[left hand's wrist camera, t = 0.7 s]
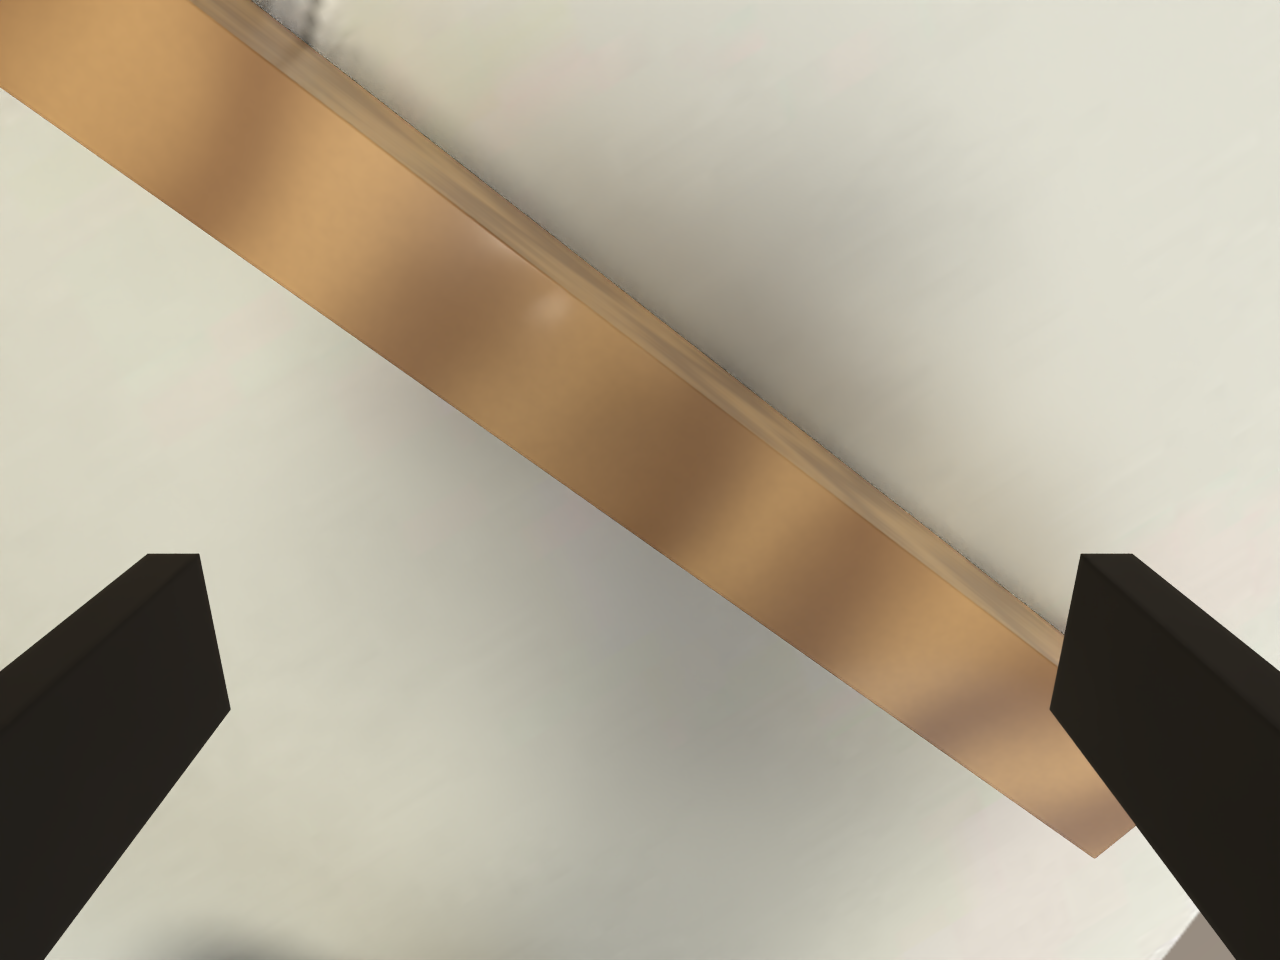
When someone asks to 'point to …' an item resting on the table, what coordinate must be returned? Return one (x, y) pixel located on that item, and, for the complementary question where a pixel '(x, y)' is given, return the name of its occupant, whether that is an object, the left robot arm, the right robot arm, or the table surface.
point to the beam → (556, 367)
